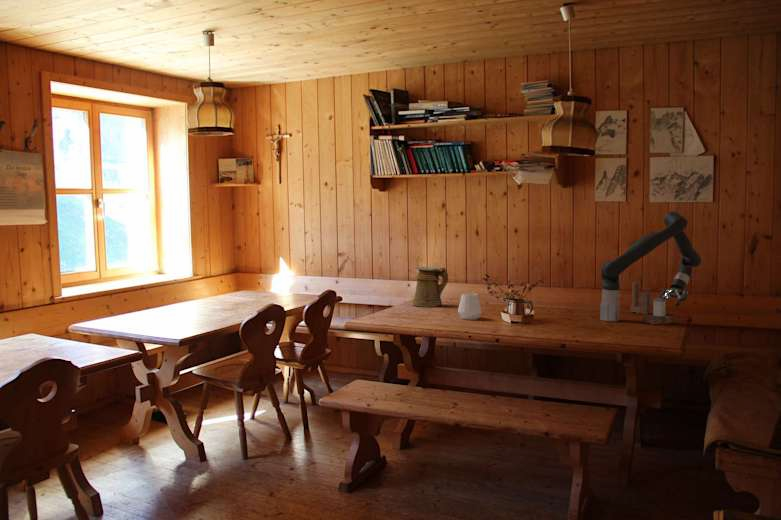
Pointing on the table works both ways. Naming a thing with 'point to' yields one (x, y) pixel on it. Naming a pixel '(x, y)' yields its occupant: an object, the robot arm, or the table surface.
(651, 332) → the table surface
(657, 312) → the housing
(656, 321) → the stand
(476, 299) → the cup
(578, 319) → the table surface
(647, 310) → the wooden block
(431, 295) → the tankard
